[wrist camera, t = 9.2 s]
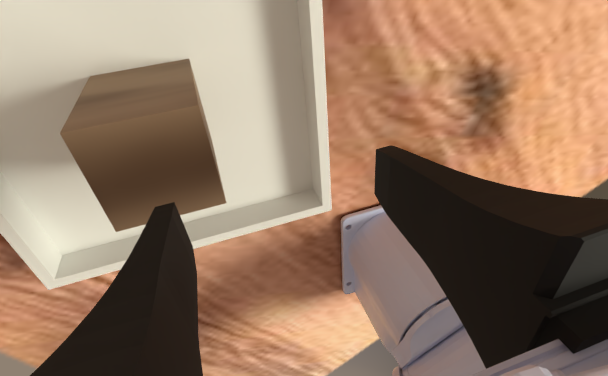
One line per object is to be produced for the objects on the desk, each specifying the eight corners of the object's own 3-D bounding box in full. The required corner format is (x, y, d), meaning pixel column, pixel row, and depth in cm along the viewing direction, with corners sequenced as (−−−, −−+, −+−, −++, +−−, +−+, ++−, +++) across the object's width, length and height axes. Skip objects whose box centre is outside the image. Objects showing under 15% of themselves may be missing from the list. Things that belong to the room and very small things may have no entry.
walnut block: (211, 140, 20) (226, 203, 15) (127, 158, 19) (116, 232, 14) (189, 58, 17) (198, 105, 12) (89, 76, 16) (59, 133, 11)
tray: (318, 188, 25) (331, 210, 23) (58, 258, 22) (48, 289, 20) (297, -103, 15) (316, -108, 13) (-181, -60, 12) (-247, -58, 10)
